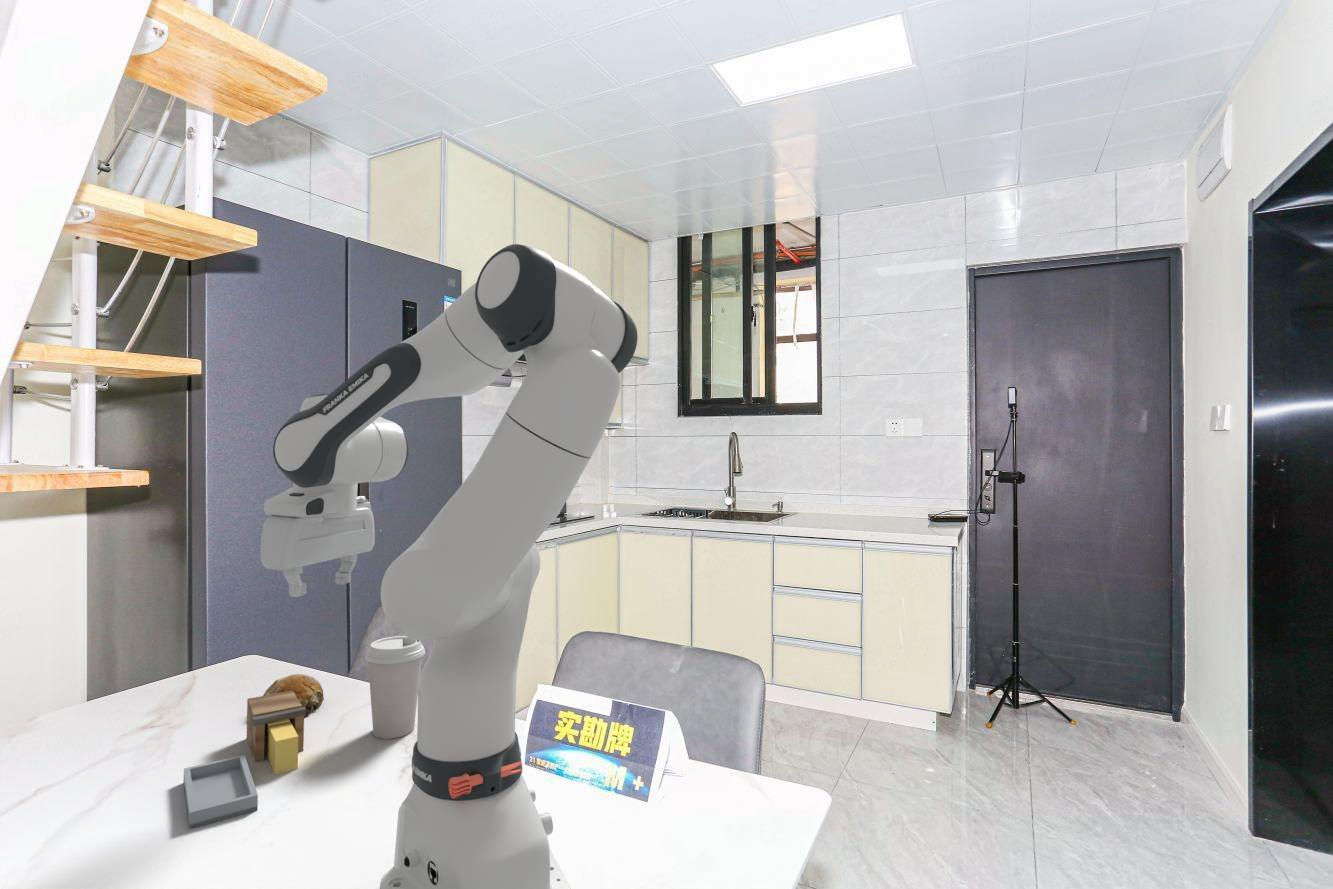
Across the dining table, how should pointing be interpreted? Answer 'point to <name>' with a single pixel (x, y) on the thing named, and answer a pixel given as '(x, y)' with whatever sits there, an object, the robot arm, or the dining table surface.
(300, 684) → the bread roll
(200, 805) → the tray
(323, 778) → the dining table surface
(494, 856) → the robot arm
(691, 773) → the dining table surface
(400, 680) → the coffee cup
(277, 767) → the yellow rectangular block
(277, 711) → the dispenser
